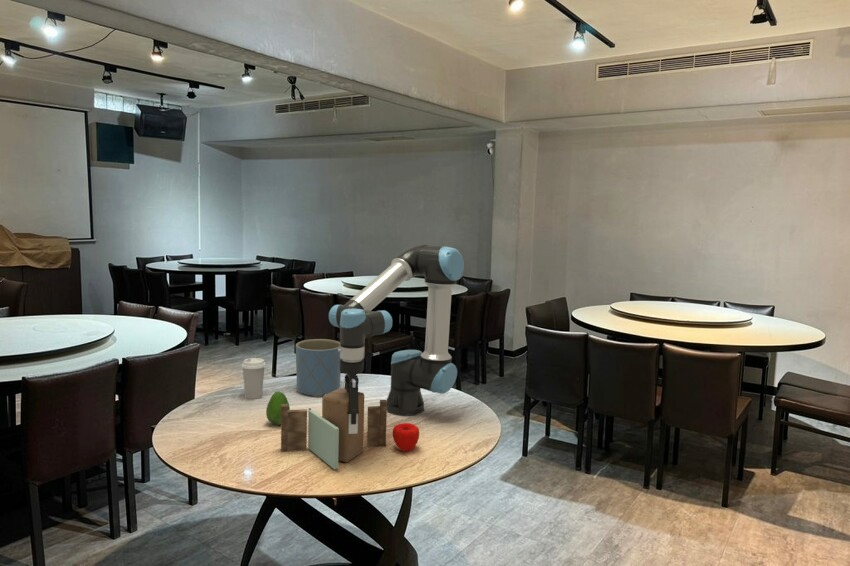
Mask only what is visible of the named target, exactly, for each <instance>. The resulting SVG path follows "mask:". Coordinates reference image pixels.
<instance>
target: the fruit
mask: <svg viewBox="0 0 850 566" xmlns="http://www.w3.org/2000/svg"><path fill="white" fill-rule="evenodd" d="M281 404H288V410H291V408H290V402H289V401H288V398H287V397H286V394H284V392H282V391H275V392H274V393H273V394H272V395H271V397H270V399H269V401H268V403H267V406H266V413H265V414H266V419H267V420H268V421H269V422H270V423H271V424H272V425H276V426H281Z"/></svg>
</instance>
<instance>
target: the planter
mask: <svg viewBox="0 0 850 566" xmlns="http://www.w3.org/2000/svg"><path fill="white" fill-rule="evenodd" d="M338 349H341V348H340V341H338V340H333V339H327V338H314V339H304V340H301V341H298V342H297V343H296V344H295V368H296V369H295V371H296V376H295V377H296V391H297V392H298V393H300V394H303V395H304V394H305V395H307V396H313V397H316V398H321V397H323V396H324V395H326V394H328V393H330V392H332V391H335V390H337V389H339V388H341V373H342V372H341V371H340V360H341V358H340V352H338Z"/></svg>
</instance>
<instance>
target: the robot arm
mask: <svg viewBox="0 0 850 566" xmlns="http://www.w3.org/2000/svg"><path fill="white" fill-rule="evenodd" d="M464 269H465V263H464V258H463V255H462V254H461V252H460V251H459V250H458V249H457V248H454V247H450V246H443V245H442V246H441V245H429V244H419V245H415V246H413V247H410V248H408V249H406V250H404V251H403V252H401V253H400V254H398V255H397V256H396V257H395V258H393V259H392V260H391V262H390V265H389V266H388V267H387V268H386V269H384V271H382V272H381V273H380V274H379V275H378V276H377V277H375V278H374V279H373V280H371V282H370V283H368V284H367V285H366V286H364V288H362V289H361V290H360V291H359V292H358V293H356V294H355V295H354V296H353V297H351V298H350V299H349V300H348V301H347V302H346V303H345V304H334V305H333V306H331V308H330V310H329V312H328V320H329V323H330V325H332V326H334V327H336V328H339V342H340V348H341V349H338V352H340V358H341V360H340V371H341V373H342V374H344V389H346V390H347V392H348V393H349V412H347V414H349V426H348V434H357V433H358V414H359V404H358V392H359V382H360V381H359V377H358V374H361V373H363V372H364V370H365V360H364V359H365V348H366V347H365V342H366V341H365V339H367V338H371V337H375V336H379V335H380V336H381V335H383V334H385V333H389V332H390V330H391V329H392V327H393V317H392V315H391V314H390V313H389V312H388V311H387V310H385V309H384V310H376V311H375V310H374V311H372V310H373V309H375V308H376V307H377V306H378V305H379V304H380V303H382V302H383V301H384V300H385V299H386V298H387V297H388V296H389V295H390V294H391V293H392V292H393V291H395V290H396V289H397V288H398V287H400V286H401V285H402V284H403V283H404V282H406V281H410V280H411V279H412V278H414V277H418V276H419V277H420V276H421V277H424V283H425V285H426V286H427V287H428V290H427V291H428V292H427V308H426V324H425V342H424V351H423V352H422V351H421V350H419V349H418V350H417V349H404V350H399V351H395V352H393V354H392V355H391V362H390V389H389V393H388V395H387V397H386V401H387V413H389V414H392V415H395V416H396V415H397V416H414V415H419V414H421V413H423V412H424V411H425V402H424V398H423V394H422V391H421V390H425V391H429V392H431V393H435V394H436V393H437V394H441V395H442V394H445V393H448V392H449V391H450V390H451V389H452V388H453V386H454V385H455V383H456V380H457V376H458V368H457V365H455V364H454V363H452V355H451V354H450V353H449V340H450V339H449V338H450V323H451V322H450V321H451V310H452V309H451V306H452V291H453V288H454V287H455V286H456V285H457V281H458V280H461V278H462V277H463V274H464V271H465V270H464ZM353 409H356V410H353Z"/></svg>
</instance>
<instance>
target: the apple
mask: <svg viewBox="0 0 850 566" xmlns="http://www.w3.org/2000/svg"><path fill="white" fill-rule="evenodd" d="M392 438H393V442H394V443H395V445H396V448H397V449H399V450H400V451H403V452H411V451H413V450H414V448H415V447H417V444H418V442H419V439H420V429H419V427H418V426H417V425H415V424H413V423H410V422H403V423H398V424H396V425H394V427H393V428H392Z"/></svg>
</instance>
